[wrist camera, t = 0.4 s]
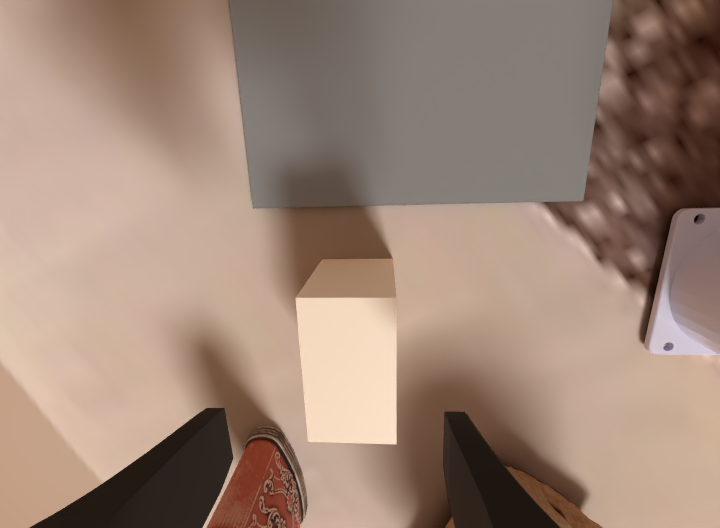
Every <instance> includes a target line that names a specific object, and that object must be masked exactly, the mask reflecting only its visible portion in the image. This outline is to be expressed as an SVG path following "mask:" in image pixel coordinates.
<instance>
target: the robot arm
mask: <svg viewBox="0 0 720 528" xmlns="http://www.w3.org/2000/svg"><path fill="white" fill-rule="evenodd" d="M697 215H698V219H697V221H696V222H694V218H695V216H697ZM666 343H668V344H667V345H666V346H665V347H663V346H664V344H666ZM644 347H645V349H646V350H648V351H649V352H651V353H652V354H676V355H720V208H684V209H680V210H678V211H677V212H676V213H675V214H674V215H673V218H672V221H671V226H670V230H669V235H668V239H667V244H666V248H665V253H664V257H663V262H662V266H661V271H660V275H659V280H658V284H657V289H656V293H655V298H654V302H653V307H652V311H651V316H650V320H649V325H648V329H647V334H646V338H645V343H644ZM232 460H233V454H232V448H231V443H230V437H229V431H228V426H227V420H226V415H225V409H224V408H206V409H205V410H203V411H202V412H200V413H199V414H198V415H196V416H195V417H193V418H192V419H191V420H189V421H188V422H187V423H185V424H184V425H183V426H182V427H180V428H179V429H178V430H176V431H175V432H174V433H172V434H171V435H170V436H168V437H167V438H166V439H164V440H163V441H162V442H160V443H159V444H158V445H156V446H155V447H154V448H152V449H151V450H150V451H148V452H147V453H146V454H144V455H143V456H141V457H140V458H139V459H137V460H136V461H134V462H133V463H132V464H130V465H129V466H127V467H126V468H124V469H123V470H122V471H120V472H119V473H117V474H116V475H114V476H113V477H112V478H110V479H109V480H107V481H106V482H104V483H103V484H101V485H100V486H98V487H97V488H95V489H94V490H92V491H91V492H89V493H87V494H86V495H84V496H83V497H81V498H79V499H78V500H76V501H75V502H73V503H71V504H70V505H68V506H67V507H65V508H63V509H62V510H60V511H58V512H56V513H55V514H53V515H52V516H50V517H48V518H46V519H44V520H42V521H41V522H39V523H37V524H35V525H34V526H32V527H30V528H202V527H203V525H204V523H205V521H206V519H207V517H208V516H209V514H210V512H211V510H212V508H213V506H214V504H215V502H216V500H217V498H218V496H219V494H220V492H221V489H222V487H223V484H224V482H225V479H226V477H227V474H228V471H229V468H230V466H231V463H232ZM443 468H444V475H445V482H446V489H447V495H448V501H449V505H450V509H451V513H452V518H453V522H454V526H455V528H560V527H559V526H558V525H557V524H556V523H555V522H554V521H553V520H552V519H551V517H550V516H549V515H548V514H547V513H546V512H545V511H544V510H543V509H542V508H541V507H540V506H539V505H538V504H537V503H536V502H535V500H534V499H533V498H532V497H531V496H530V495H529V494H528V493H527V491H526V490H525V489H524V488H523V487H522V486H521V485H520V483H519V482H518V481H517V480H516V479H515V478H514V476H513V475H512V474H511V473H510V472H509V470H508V469H507V468H506V467H505V465H504V464H503V463H502V462H501V460H500V459H499V458H498V457H497V455H496V454H495V453H494V451H493V450H492V449H491V448H490V446H489V445H488V444H487V442H486V441H485V439H484V438H483V437H482V435H481V434H480V433H479V431H478V430H477V428H476V427H475V425H474V424H473V422H472V421H471V420H470V418H469V416H468V415H467V414H466V413H465V412H444V445H443Z"/></svg>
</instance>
